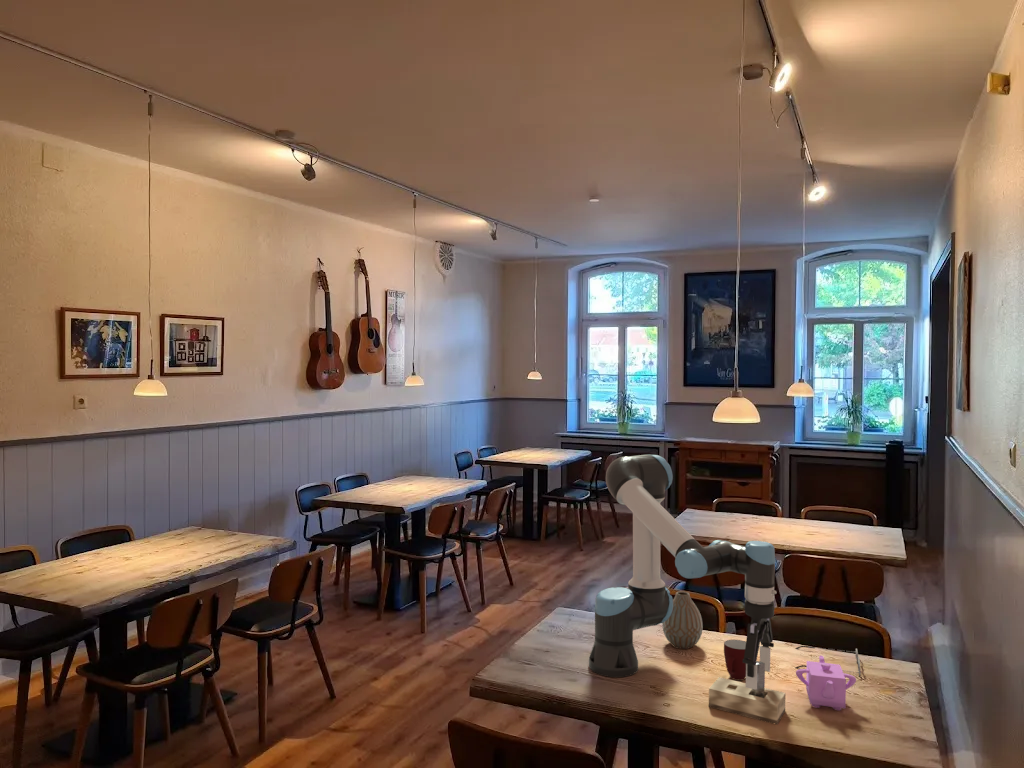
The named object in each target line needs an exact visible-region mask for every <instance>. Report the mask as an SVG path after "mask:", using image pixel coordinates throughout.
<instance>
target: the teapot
mask: <svg viewBox="0 0 1024 768" xmlns="http://www.w3.org/2000/svg"><path fill="white" fill-rule="evenodd" d="M818 658H819V661H812V660H811V661H809V660H807V661H806V666H807V667H806V668H800V669H799V668H798V669H797V670H796V671H795V676H797V678H798V680H800V681H801V682H802V683H803V684H804V685H805V688H806V692H807V696H808V697H807V698H808V699H809V700H808V701H809V704H810V705H811V707H813V708H817V709H818V708H820V709H821V706H823V707H830V708H832V709H833V710H835V711H842V709H846V704H847V703H846V702H847V701H846V699H847V697H846V696H847V695H846V694H847V691H846V690H848V689H850V688H852V687H853V686H854V685H855V683H856V682H857V678H856V676H854V675H851V674H848V673H844V671H842V670H843V669H842V667H841V665H840V664H838V663H837V664H835V663H827V662H825V657H824V656H823V655H819V657H818ZM803 674H806V675H805V676H806V678H804V676H803ZM846 678H847V679H849V680H848V681H847V679H846Z"/></svg>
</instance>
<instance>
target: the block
mask: <svg viewBox="0 0 1024 768" xmlns="http://www.w3.org/2000/svg"><path fill="white" fill-rule="evenodd" d="M708 707H709V708H713V709H717V710H720V711H725V712H728V713H731V714H735V715H740V716H741V717H742V716H743V717H747V718H751V719H754V720H757V721H761V720H762V722H765V721H766V722H765V723H769V722H770V723H769V724H773V723H775V724H774V725H778V724H779V723H780V721H781V719H782V717H783V716H784V714H785V712H786V692H783V691H779V690H774V689H770V688H766V687H765V691H764V698H761V697H757V696H753V695H752V689H751V688H747V687H746V682H741V681H739V680H735V679H729V678H724V677H721V676H718V678H717V679H715V681H714V682H713V683H712V684H711V685H710V687H708ZM779 720H780V721H779Z"/></svg>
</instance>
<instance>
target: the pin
mask: <svg viewBox="0 0 1024 768" xmlns="http://www.w3.org/2000/svg"><path fill="white" fill-rule="evenodd" d="M756 664H757V689H756V690H755V689H752V695H753V696H757V697H761V698H764V691H765V688H766V686H765V683H766V681H765V680H766V677H765V676H766V675H765V674H766V671H765V663H763V662H760V660H759V661H758V660H757V661H756Z"/></svg>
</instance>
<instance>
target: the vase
mask: <svg viewBox="0 0 1024 768" xmlns="http://www.w3.org/2000/svg"><path fill="white" fill-rule="evenodd" d="M690 594H691V593H690V592H687V591H683V590H682V591H680V590H679V591H677V592H675V596H674V597H673V598H672V599H673V610H672V613H671V616H670V617H669V618H668V619H667V620H666V621H665V622H663V623H661V624H662V633H664V634H663V635H664V637H665V638H666V640H667V641H668V643H670V644H671V646H673V647H675V648H676V649H684V650H685V649H686V650H687V649H688V650H689V649H691V648H693V647H694V646H695V645H696V644H697V643H698V642H699V641H700V639H701V637H702V634H703V630H704V629H703V626H704V624H703V618H702V615H701V613H700V612H701V611H700V610H699V608H698V607H697V605H696V603H694V601H693V600H692V598H691V596H690Z"/></svg>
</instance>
